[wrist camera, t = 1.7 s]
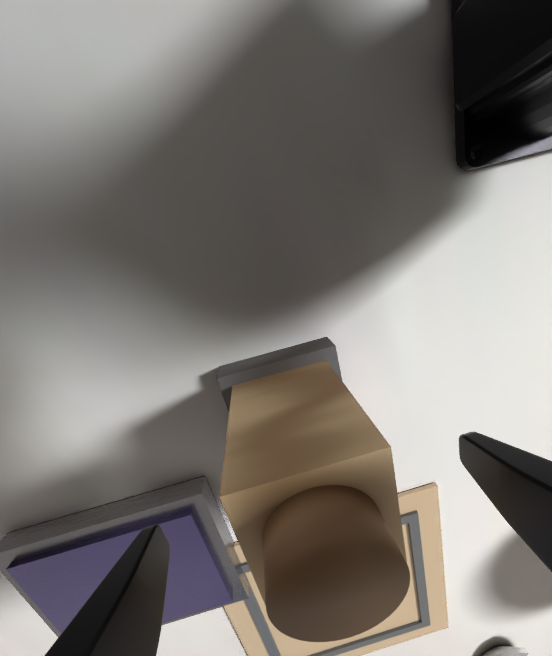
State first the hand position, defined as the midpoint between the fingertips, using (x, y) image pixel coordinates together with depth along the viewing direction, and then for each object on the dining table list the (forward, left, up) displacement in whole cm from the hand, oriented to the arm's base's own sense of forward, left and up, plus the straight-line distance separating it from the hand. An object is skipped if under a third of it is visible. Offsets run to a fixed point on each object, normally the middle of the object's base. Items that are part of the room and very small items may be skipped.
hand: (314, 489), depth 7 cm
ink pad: (+10, +7, -5) cm, 13 cm away
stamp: (0, 0, -5) cm, 5 cm away
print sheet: (0, +15, -5) cm, 16 cm away
